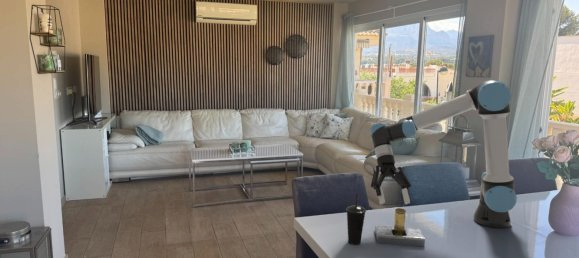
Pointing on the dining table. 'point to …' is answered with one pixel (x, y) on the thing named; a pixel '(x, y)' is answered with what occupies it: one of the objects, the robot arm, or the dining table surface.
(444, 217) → the dining table surface
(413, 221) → the dining table surface
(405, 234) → the jig
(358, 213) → the black tumbler with straw
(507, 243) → the dining table surface
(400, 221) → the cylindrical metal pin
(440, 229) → the dining table surface
